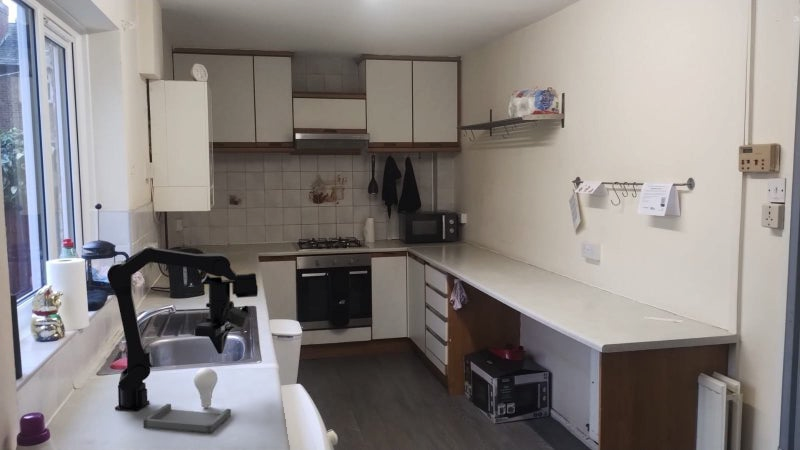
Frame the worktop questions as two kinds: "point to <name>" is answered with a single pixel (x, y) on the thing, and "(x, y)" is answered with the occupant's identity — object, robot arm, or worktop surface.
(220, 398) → the worktop surface
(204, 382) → the lightbulb
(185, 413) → the tray
